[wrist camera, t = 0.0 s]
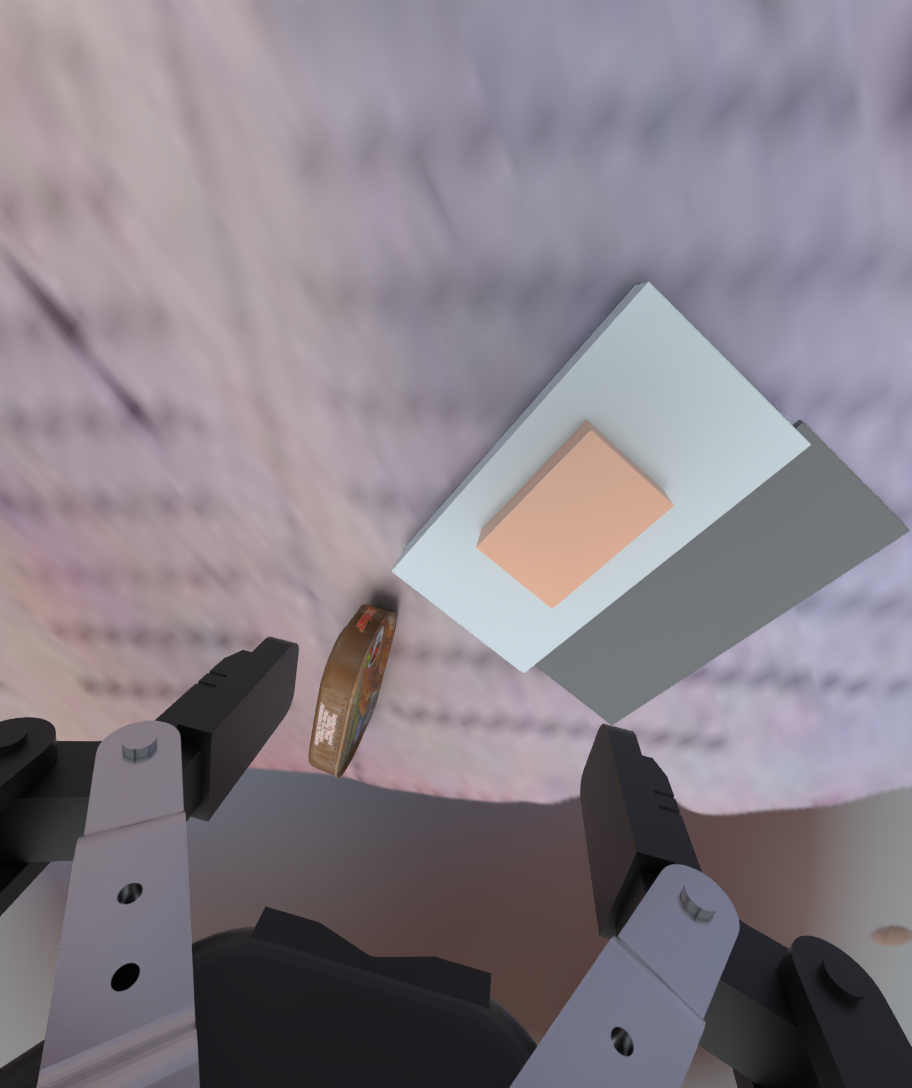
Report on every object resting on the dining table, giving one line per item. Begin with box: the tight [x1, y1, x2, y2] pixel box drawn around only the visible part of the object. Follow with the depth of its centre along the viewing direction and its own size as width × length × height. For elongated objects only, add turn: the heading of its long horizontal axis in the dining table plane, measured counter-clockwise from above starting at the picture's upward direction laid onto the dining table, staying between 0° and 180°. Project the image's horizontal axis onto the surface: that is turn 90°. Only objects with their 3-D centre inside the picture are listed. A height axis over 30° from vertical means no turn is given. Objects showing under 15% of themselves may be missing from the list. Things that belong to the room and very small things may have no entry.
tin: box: [309, 605, 396, 778], centre depth 38 cm, size 15×3×8 cm, turn 165°
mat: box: [535, 421, 910, 725], centre depth 34 cm, size 24×10×1 cm, turn 141°
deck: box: [392, 282, 811, 673], centre depth 31 cm, size 22×12×4 cm, turn 141°
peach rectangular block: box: [476, 420, 674, 609], centre depth 28 cm, size 9×6×2 cm, turn 141°
